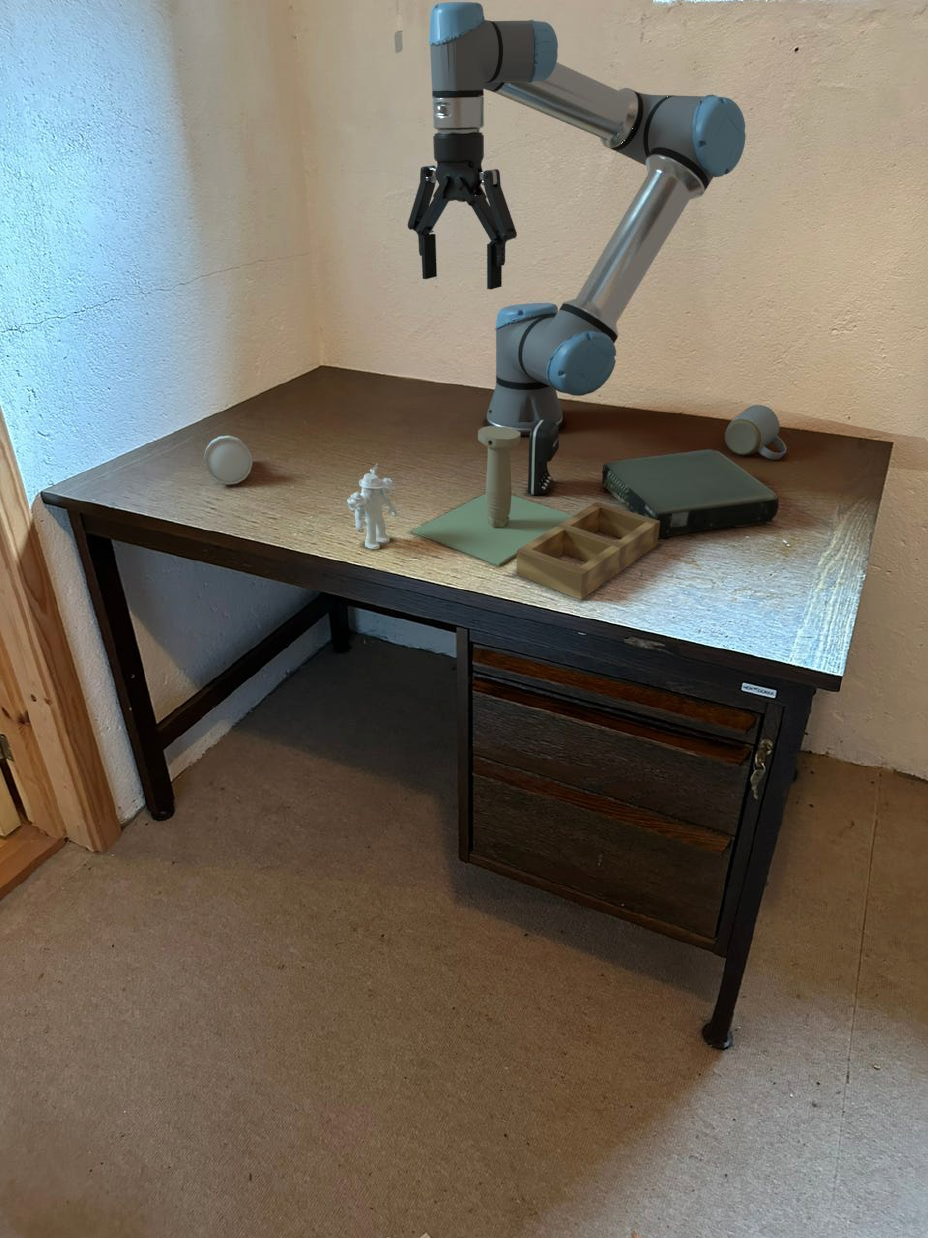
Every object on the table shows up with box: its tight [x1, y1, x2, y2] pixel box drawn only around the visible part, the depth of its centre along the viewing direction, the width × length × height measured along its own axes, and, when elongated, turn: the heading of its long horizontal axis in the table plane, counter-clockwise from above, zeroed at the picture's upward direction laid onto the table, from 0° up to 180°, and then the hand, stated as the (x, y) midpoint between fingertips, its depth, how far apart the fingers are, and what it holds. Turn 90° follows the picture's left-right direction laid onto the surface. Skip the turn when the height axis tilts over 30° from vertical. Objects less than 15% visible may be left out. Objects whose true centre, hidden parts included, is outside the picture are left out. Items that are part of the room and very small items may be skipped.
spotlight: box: [203, 435, 253, 486], centre depth 152 cm, size 8×11×8 cm
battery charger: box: [527, 420, 560, 496], centre depth 143 cm, size 7×4×11 cm, turn 162°
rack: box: [515, 501, 660, 601], centre depth 124 cm, size 20×11×4 cm, turn 140°
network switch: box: [601, 448, 780, 539], centre depth 138 cm, size 23×24×5 cm
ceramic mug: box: [724, 404, 788, 461], centre depth 156 cm, size 11×8×8 cm
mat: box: [412, 492, 575, 567], centre depth 134 cm, size 20×17×1 cm
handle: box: [477, 425, 521, 528], centre depth 130 cm, size 5×6×15 cm
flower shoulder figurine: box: [346, 461, 398, 550], centre depth 127 cm, size 9×4×12 cm, turn 144°
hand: (461, 282), depth 138 cm, fingers open, 13 cm apart
